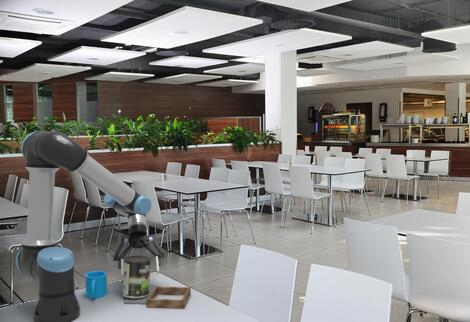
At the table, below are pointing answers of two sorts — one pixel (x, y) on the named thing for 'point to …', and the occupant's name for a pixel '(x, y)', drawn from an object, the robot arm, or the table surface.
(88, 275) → the mug
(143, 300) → the mat
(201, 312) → the table surface
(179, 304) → the crate
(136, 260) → the coffee can
